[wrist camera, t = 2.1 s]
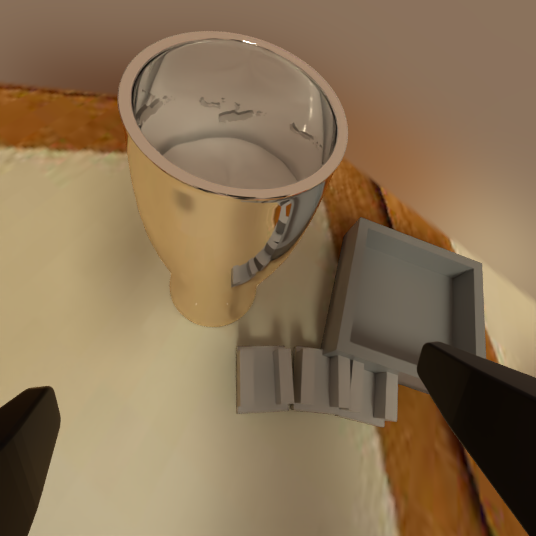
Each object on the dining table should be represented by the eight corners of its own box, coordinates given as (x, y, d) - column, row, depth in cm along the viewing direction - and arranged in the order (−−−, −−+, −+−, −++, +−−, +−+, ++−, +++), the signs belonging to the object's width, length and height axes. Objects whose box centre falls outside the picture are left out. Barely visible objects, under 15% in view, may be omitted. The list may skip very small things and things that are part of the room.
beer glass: (151, 256, 22) (84, 25, 9) (242, 233, 24) (299, 24, 11) (179, 349, 20) (145, 234, 7) (275, 315, 22) (396, 178, 9)
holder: (452, 402, 22) (487, 402, 20) (319, 356, 22) (336, 349, 19) (453, 277, 27) (482, 263, 24) (343, 236, 26) (360, 217, 24)
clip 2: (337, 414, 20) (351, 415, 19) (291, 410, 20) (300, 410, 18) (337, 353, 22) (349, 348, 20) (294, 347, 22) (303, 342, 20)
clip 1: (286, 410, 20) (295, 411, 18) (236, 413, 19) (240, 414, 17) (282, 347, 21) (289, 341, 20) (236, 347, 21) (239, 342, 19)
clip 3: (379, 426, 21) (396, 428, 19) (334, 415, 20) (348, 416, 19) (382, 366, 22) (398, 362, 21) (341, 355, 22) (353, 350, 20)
